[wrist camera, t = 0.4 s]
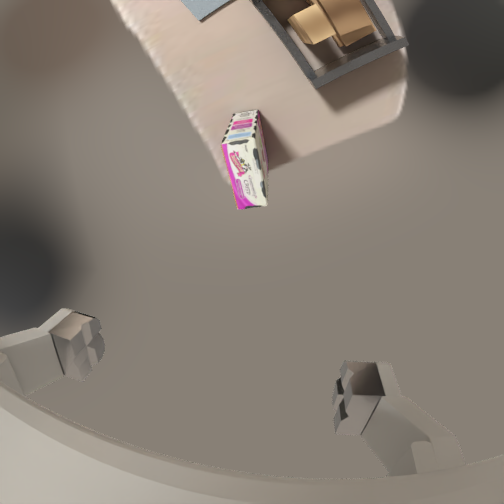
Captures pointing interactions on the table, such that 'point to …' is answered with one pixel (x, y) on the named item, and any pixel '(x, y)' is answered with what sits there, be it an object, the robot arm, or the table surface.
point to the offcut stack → (345, 19)
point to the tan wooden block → (311, 25)
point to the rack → (346, 62)
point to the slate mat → (203, 6)
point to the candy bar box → (246, 159)
